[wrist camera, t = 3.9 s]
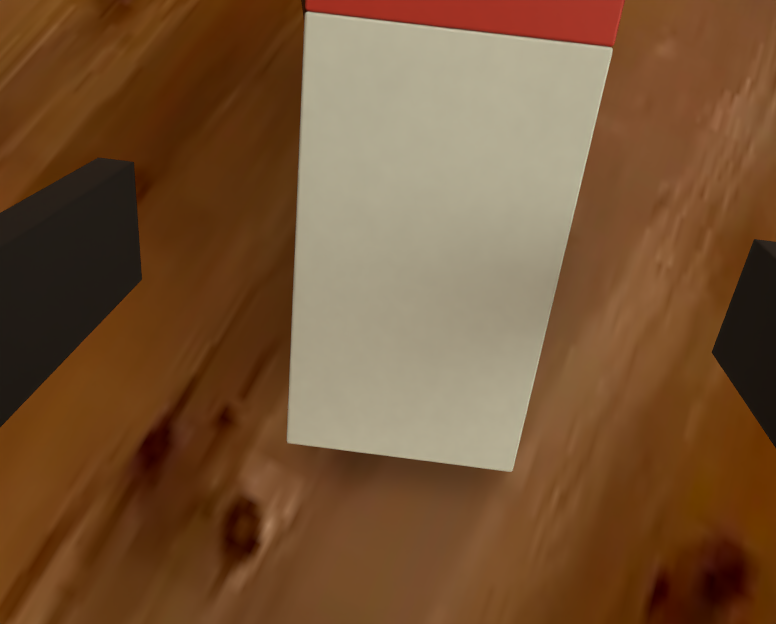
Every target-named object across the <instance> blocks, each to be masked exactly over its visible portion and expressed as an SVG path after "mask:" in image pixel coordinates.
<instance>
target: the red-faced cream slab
mask: <svg viewBox="0 0 776 624" xmlns="http://www.w3.org/2000/svg"><path fill="white" fill-rule="evenodd" d="M624 2H625V0H305V9H306V10H307V11H308V12H306V13H305V21H304V45H303V68H302V92H301V115H300V139H299V162H298V186H297V209H296V233H295V256H294V280H293V303H292V327H291V350H290V374H289V397H288V421H287V443H291V444H299V445H307V446H314V447H322V448H330V449H337V450H345V451H353V452H361V453H368V454H376V455H384V456H392V457H399V458H407V459H415V460H422V461H430V462H438V463H446V464H453V465H461V466H469V467H476V468H484V469H492V470H500V471H507V472H512V470H513V467H514V463H515V459H516V455H517V450H518V446H519V442H520V438H521V434H522V429H523V425H524V421H525V417H526V413H527V408H528V404H529V400H530V396H531V392H532V388H533V383H534V379H535V375H536V371H537V367H538V362H539V358H540V354H541V350H542V346H543V341H544V337H545V333H546V329H547V325H548V320H549V316H550V312H551V308H552V304H553V299H554V295H555V291H556V287H557V283H558V278H559V274H560V270H561V266H562V262H563V257H564V253H565V249H566V245H567V241H568V236H569V232H570V228H571V224H572V220H573V216H574V211H575V207H576V203H577V199H578V195H579V190H580V186H581V182H582V178H583V174H584V169H585V165H586V161H587V157H588V153H589V148H590V144H591V140H592V136H593V132H594V127H595V123H596V119H597V115H598V111H599V106H600V102H601V98H602V94H603V90H604V85H605V81H606V77H607V73H608V69H609V64H610V60H611V56H612V52H613V50H612V48H611V46H613V45H614V43H615V39H616V35H617V31H618V27H619V23H620V18H621V14H622V10H623V6H624Z"/></svg>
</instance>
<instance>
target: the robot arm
mask: <svg viewBox="0 0 776 624" xmlns="http://www.w3.org/2000/svg"><path fill="white" fill-rule="evenodd" d="M141 280H142V274H141V259H140V245H139V231H138V216H137V202H136V187H135V173H134V162H129V161H121V160H113V159H105V158H97V159H95V160H93V161H91V162H90V163H88V164H86V165H84V166H83V167H81V168H79V169H77V170H76V171H74V172H72V173H70V174H68V175H67V176H65V177H63V178H61V179H60V180H58V181H56V182H54V183H53V184H51V185H49V186H47V187H46V188H44V189H42V190H40V191H38V192H37V193H35V194H33V195H31V196H30V197H28V198H26V199H24V200H23V201H21V202H19V203H17V204H15V205H14V206H12V207H10V208H8V209H7V210H5V211H3V212H1V213H0V427H1V426H2V425H3V424H4V423H5V422H6V421H7V420H8V419H9V418H10V416H11V415H12V414H13V413H14V412H15V411H16V410H17V409H18V408H19V407H20V406H21V405H22V404H23V403H24V402H25V401H26V400H27V399H28V398H29V397H30V396H31V395H32V394H33V392H34V391H35V390H36V389H37V388H38V387H39V386H40V385H41V384H42V383H43V382H44V381H45V380H46V379H47V378H48V377H49V376H50V375H51V374H52V373H53V372H54V371H55V370H56V368H57V367H58V366H59V365H60V364H61V363H62V362H63V361H64V360H65V359H66V358H67V357H68V356H69V355H70V354H71V353H72V352H73V351H74V350H75V349H76V348H77V347H78V346H79V344H80V343H81V342H82V341H83V340H84V339H85V338H86V337H87V336H88V335H89V334H90V333H91V332H92V331H93V330H94V329H95V328H96V327H97V326H98V325H99V324H100V323H101V322H102V320H103V319H104V318H105V317H106V316H107V315H108V314H109V313H110V312H111V311H112V310H113V309H114V308H115V307H116V306H117V305H118V304H119V303H120V302H121V301H122V300H123V299H124V298H125V296H126V295H127V294H128V293H129V292H130V291H131V290H132V289H133V288H134V287H135V286H136V285H137V284H138V283H139V282H140V281H141ZM712 354H713V355H714V357H715V358H716V360H717V361H718V363H719V364H720V366H721V367H722V369H723V370H724V371H725V373H726V374H727V376H728V377H729V379H730V380H731V382H732V383H733V385H734V386H735V388H736V389H737V391H738V392H739V394H740V395H741V397H742V398H743V400H744V401H745V403H746V404H747V406H748V407H749V409H750V410H751V412H752V413H753V415H754V416H755V418H756V419H757V421H758V422H759V424H760V425H761V427H762V428H763V430H764V431H765V433H766V434H767V436H768V437H769V439H770V440H771V442H772V443H773V445H774V446H775V448H776V242H772V241H764V240H756V239H754V241H753V244H752V246H751V249H750V252H749V254H748V257H747V260H746V262H745V265H744V268H743V270H742V273H741V276H740V278H739V281H738V284H737V286H736V289H735V292H734V294H733V297H732V300H731V302H730V305H729V308H728V310H727V313H726V316H725V318H724V321H723V324H722V326H721V329H720V332H719V334H718V337H717V340H716V342H715V345H714V348H713V350H712Z"/></svg>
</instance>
